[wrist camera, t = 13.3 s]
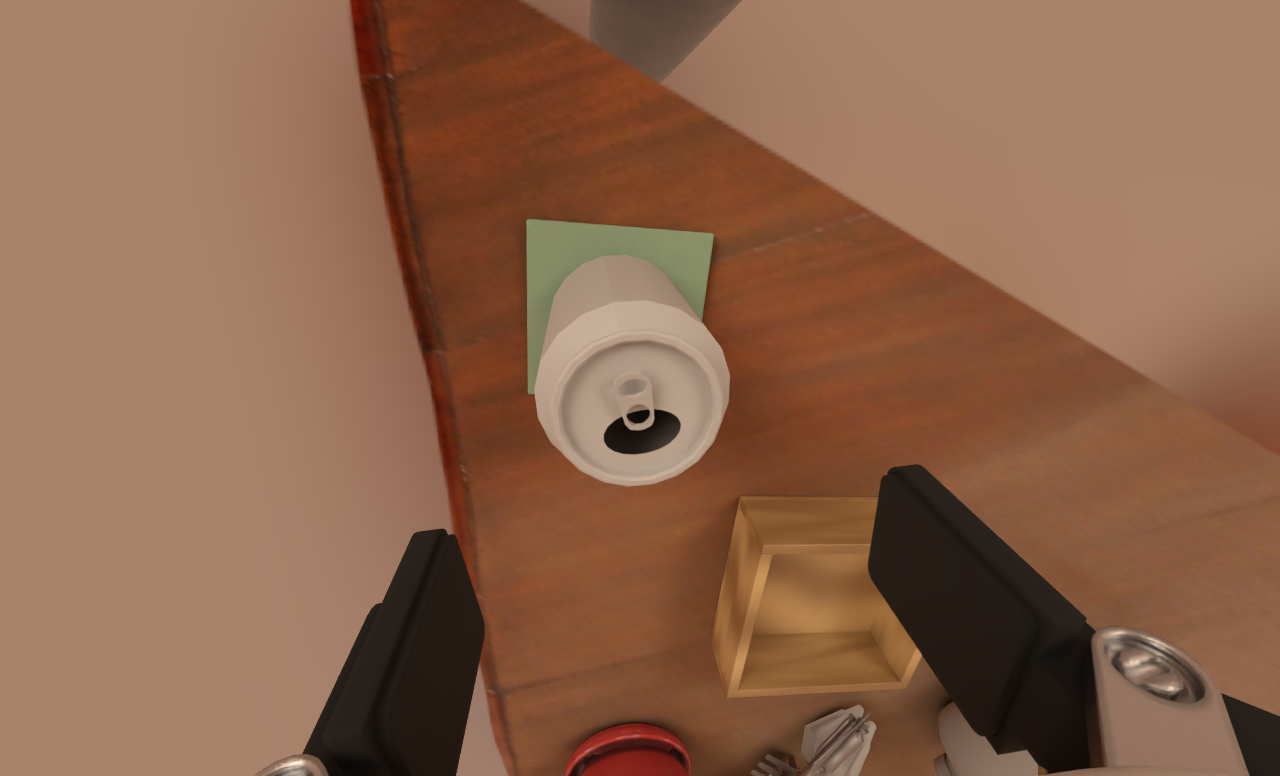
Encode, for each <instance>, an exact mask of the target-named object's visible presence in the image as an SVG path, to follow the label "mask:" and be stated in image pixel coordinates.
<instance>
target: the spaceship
mask: <svg viewBox="0 0 1280 776" xmlns="http://www.w3.org/2000/svg"><path fill="white" fill-rule="evenodd" d="M863 713H864V709H863V708H862V707H861V705H859V704H858V705H856V706H854V707H851V708H849V709H846V710H843V709H841V710H839V711H837V712H834V713H832V714H830V715H827V716H825V717H823V718H821V719H818V720H816V721H814V722H811V723H809V724H807V725H805V729H804V735H803V742H802V748H801V753H802V754H803V756H804V757H805V759H806V761H807V765H808V766H807V767H805V769H804V770H803V771H802V772H800V771H798V770H799V768H796V764H795V760H794V756H793V757H792V755H791V756H790V757H789V765H787V764H785V763H784V762H782V761H780V760H778V759H776V758H774V757H773V756H771V755H769V754H768V755H767V756H766V757H765V759H767V760H768V761H770V762H771V763H773V764H774V765H776V766H778V767H779V768H781V769H782V773H781V772H780V771H778V770H775V769H773V768H771V767H770V766H768V765H766V764H764V763H762V762H760V763H759V764H758V765H757V766H758V767H760V768H761V769H763V770H765V771H766V772H768V773H769V774H770V775H769V776H859V774H860V771H861V769H862V767H863V764H864V762H865V759H866V757H867V755H868V752H869V750H870V748H871V747H870V743H871V740H872V738H873V735H874V733H875V730H876V725H875V724H874V723H873V722H872V721H868V722H866V723H864V721H865V720H866V718H867V717H868V716H869V715H870V714H871V713H869V714H867V715H866V716H865V717H863V716H862V715H863ZM750 774H752V775H753V776H765V775H763V774H761V773H759V772H757V771H756V770H753V771H752V772H751V773H750Z"/></svg>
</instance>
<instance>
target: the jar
mask: <svg viewBox="0 0 1280 776" xmlns="http://www.w3.org/2000/svg"><path fill="white" fill-rule="evenodd" d="M938 728H939V735H940V740H941V743H942V745H943V747H944V750H945V752H946V753H944V754H942V755H940V756H938V757H937V758H935V759H934V765H935V768H936V771H937V773H938V776H1038V764H1037V763H1036V762H1035V760H1034V759H1033V758H1032V756H1031V755H1030V754H1029V752H1028V751H1027V750H1024V751H1019V752H1013V753H1007V754H1001V755H997V753H996V752H995V750H994V749H993V748H992V746H991V745H990V743H989V742H988V740H987V739H986V737H985V736H983V737H981V736H979V735H978V734H977V733H975V732H974V731H973V729H972V728H971V727H970V725H969V724H968V722H967V721H966V719H965V718H964V717H963V715H962V714H961V712H960V711H959V709H958V708H957V706H956V705H955V703H954V702H951V703H950V704H948V705H947V706H945V707H944V708H943V709H942V710H941V711H940V713H939V716H938Z"/></svg>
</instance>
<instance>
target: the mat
mask: <svg viewBox="0 0 1280 776" xmlns="http://www.w3.org/2000/svg"><path fill="white" fill-rule="evenodd" d="M713 239H714V234H712V233H703V232H691V231H678V230H665V229H653V228H640V227H627V226H614V225H602V224H589V223H576V222H564V221H551V220H538V219H527V342H528V394H535V392H534V388H535V384H536V379H537V374H538V369H539V364H540V360H541V355H542V350H543V345H544V341H545V336H546V331H547V326H548V321H549V317H550V312H551V308H552V303H553V298H554V296H555V294H556V292H557V291H558V289H559V288H560V286H561V284H562V283H563V281H564V279H565V278H566V277H567V276H569V275H570V274H571V273H572V272H573V271H574V270H576V269H577V268H578V267H579V266H580V265H582V264H584V263H586V262H589V261H591V260H594V259H596V258H599V257H602V256H612V255H628V256H632V257H635V258H639V259H642V260H646V261H648V262H649V263H651V264H652V265H654V266H655V267H657V268H658V269H660V270H661V271H663V272H664V273H665V274H666V275H667V277H668V278H669V279H670V281H671V282H672V283H673V285H674V286H675V287H676V289H677V290H678V291H679V293H680V294H681V295H682V297H683V298H684V299H685V301H686V302H687V303H688V304H689V306H690V307H691V308H692V310H693V311H694V312H695V314H696V315H697V316H698V318H699V319H700V320H701V322H702V316H703V309H704V302H705V295H706V288H707V281H708V274H709V267H710V260H711V253H712V246H713Z"/></svg>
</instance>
